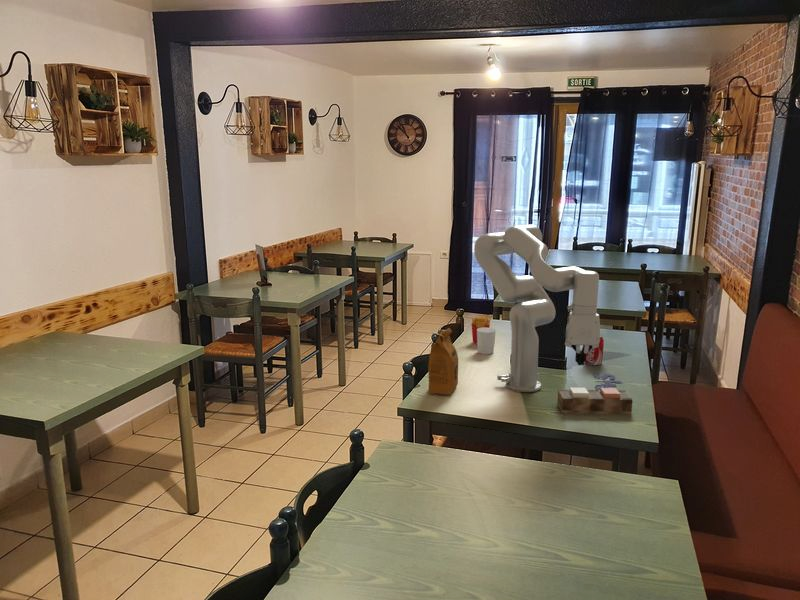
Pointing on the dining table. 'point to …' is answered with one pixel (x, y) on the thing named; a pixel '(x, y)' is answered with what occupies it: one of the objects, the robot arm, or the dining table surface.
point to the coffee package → (443, 365)
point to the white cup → (485, 340)
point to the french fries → (479, 325)
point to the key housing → (594, 403)
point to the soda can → (595, 354)
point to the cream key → (579, 392)
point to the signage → (607, 383)
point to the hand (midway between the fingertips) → (580, 363)
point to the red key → (609, 393)
